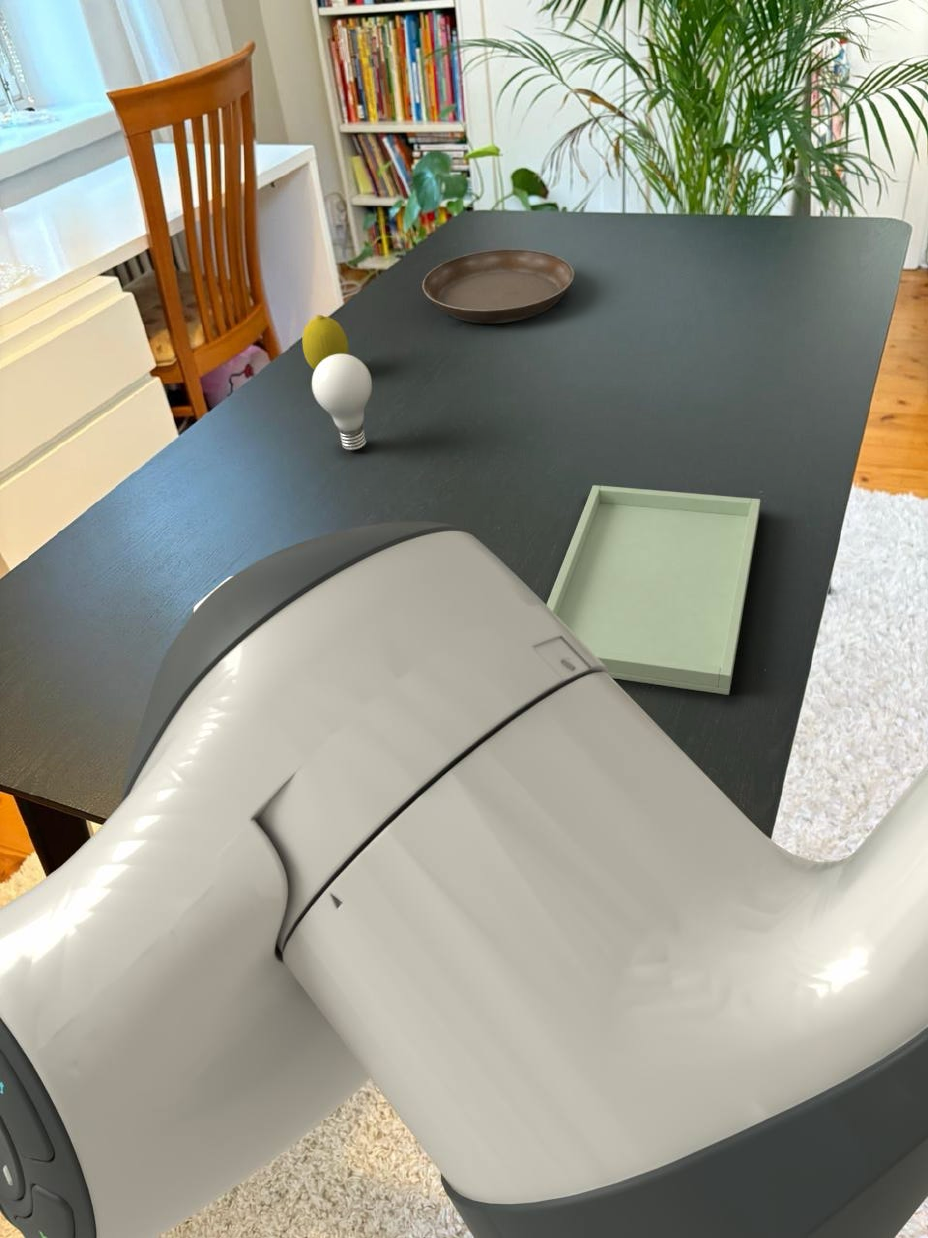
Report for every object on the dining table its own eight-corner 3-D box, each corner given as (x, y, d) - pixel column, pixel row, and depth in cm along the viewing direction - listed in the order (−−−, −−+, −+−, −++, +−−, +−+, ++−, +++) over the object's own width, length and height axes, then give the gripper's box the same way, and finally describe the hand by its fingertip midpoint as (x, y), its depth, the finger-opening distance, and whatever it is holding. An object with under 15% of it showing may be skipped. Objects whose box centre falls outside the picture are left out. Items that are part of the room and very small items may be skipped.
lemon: (361, 368, 123) (349, 307, 118) (339, 389, 119) (326, 327, 114) (324, 364, 125) (311, 304, 120) (301, 384, 121) (287, 323, 116)
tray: (758, 517, 91) (760, 498, 89) (728, 695, 74) (730, 675, 73) (593, 502, 95) (592, 484, 94) (530, 666, 79) (529, 647, 77)
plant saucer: (600, 279, 136) (600, 256, 134) (528, 342, 123) (526, 317, 121) (475, 263, 146) (473, 241, 143) (396, 319, 133) (392, 296, 131)
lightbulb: (361, 468, 105) (342, 375, 98) (315, 457, 108) (293, 365, 100) (394, 440, 109) (378, 348, 101) (349, 429, 111) (330, 339, 104)
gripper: (728, 970, 28) (833, 816, 39) (237, 646, 37) (440, 597, 48) (647, 1124, 30) (769, 935, 42) (202, 784, 39) (405, 706, 50)
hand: (590, 752), depth 45 cm, fingers open, 8 cm apart
